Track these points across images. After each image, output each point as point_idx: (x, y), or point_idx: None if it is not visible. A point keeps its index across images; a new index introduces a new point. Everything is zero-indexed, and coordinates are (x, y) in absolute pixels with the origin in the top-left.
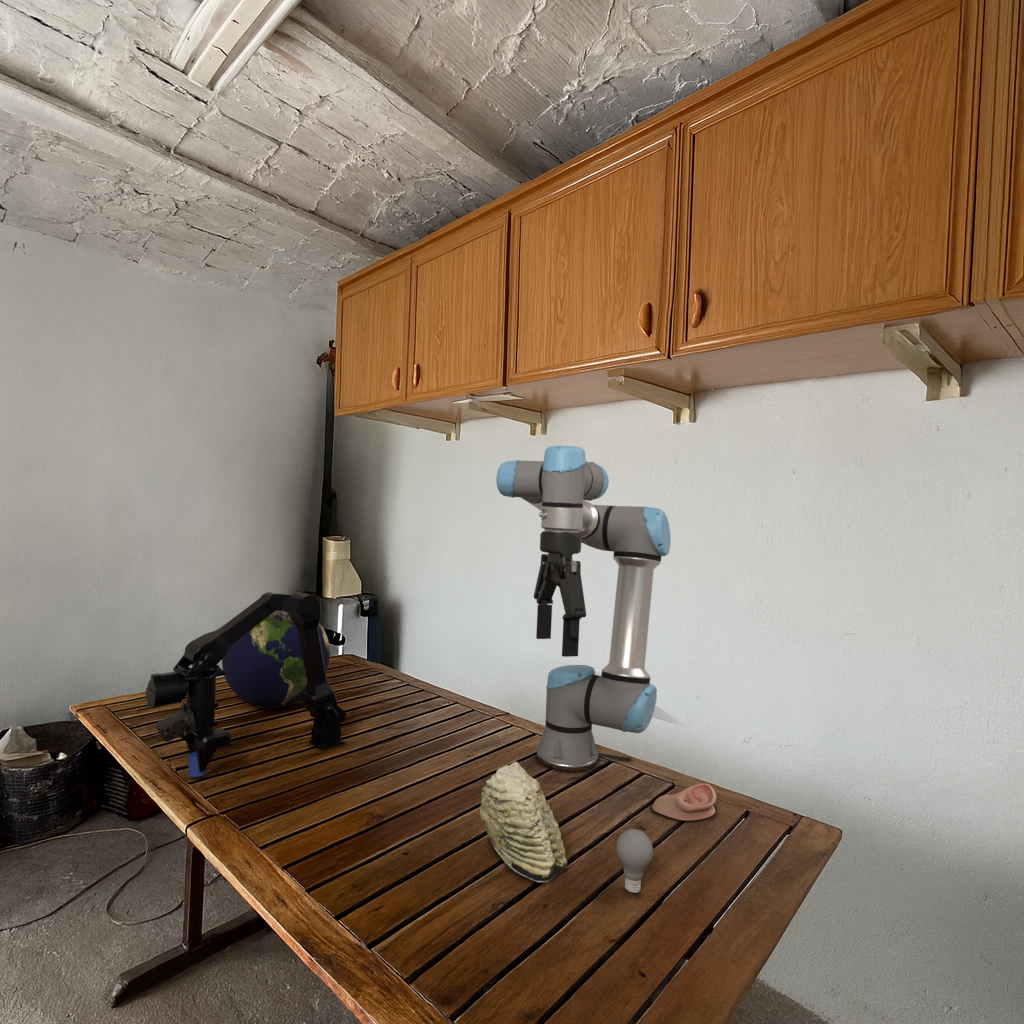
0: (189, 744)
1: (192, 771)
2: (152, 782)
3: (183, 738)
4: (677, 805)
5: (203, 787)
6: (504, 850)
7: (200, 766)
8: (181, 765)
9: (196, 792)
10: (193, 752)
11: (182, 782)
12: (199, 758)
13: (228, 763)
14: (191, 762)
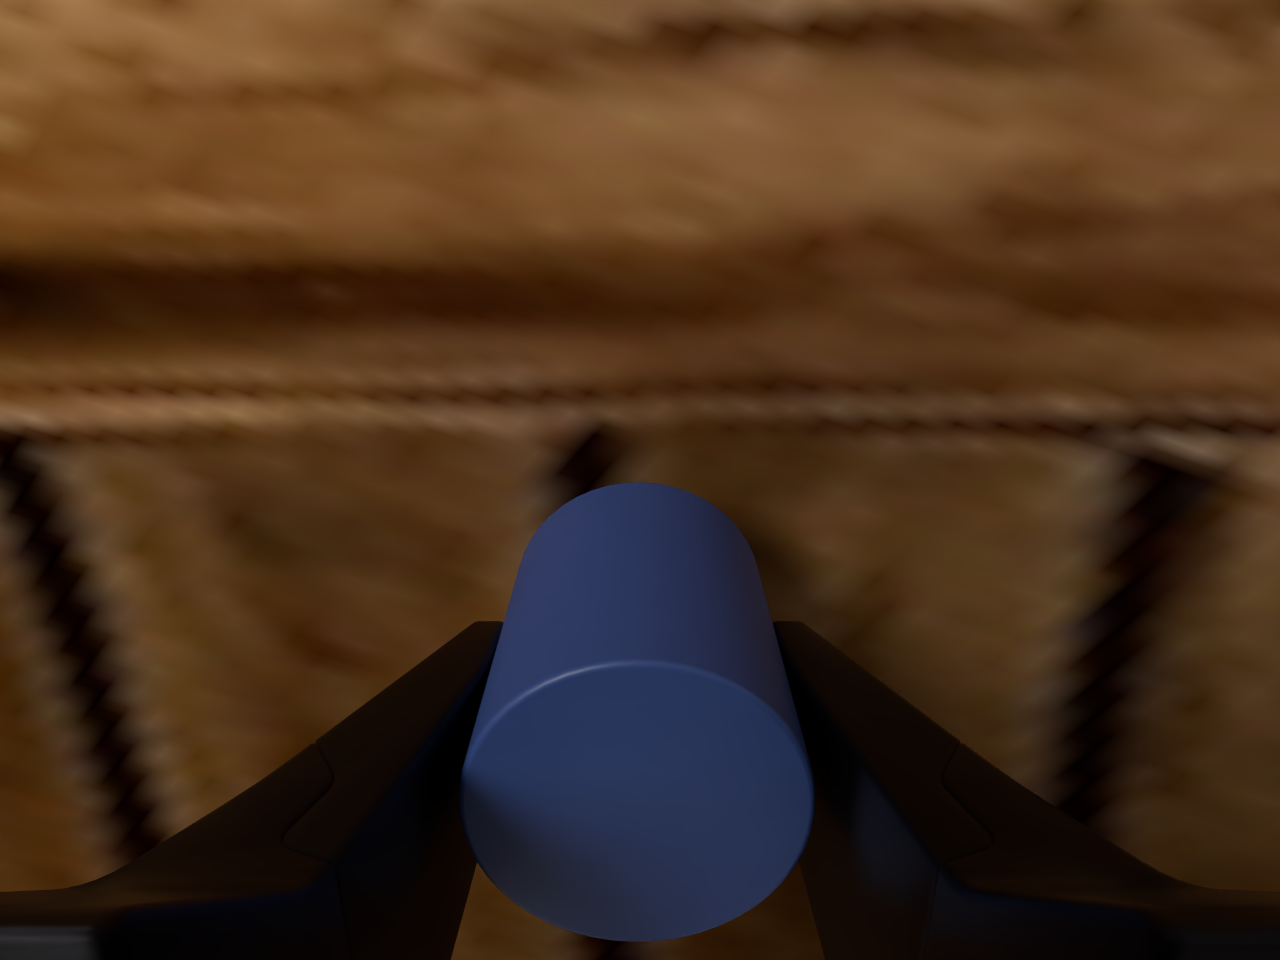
0: (934, 874)
1: (557, 541)
2: (1007, 18)
3: (1097, 939)
4: None
5: (339, 526)
6: None
7: (419, 672)
8: (1242, 557)
9: (229, 408)
10: (783, 780)
11: (677, 378)
12: (296, 758)
13: None
14: (563, 608)
